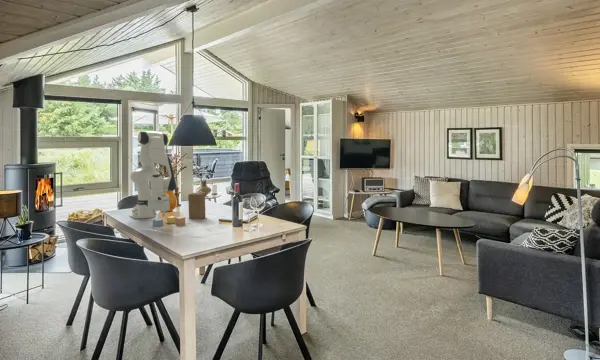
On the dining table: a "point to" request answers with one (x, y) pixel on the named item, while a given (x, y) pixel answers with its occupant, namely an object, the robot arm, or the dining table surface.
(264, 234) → the dining table surface
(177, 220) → the brick terracotta
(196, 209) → the block
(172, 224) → the build plate
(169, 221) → the brick mustard
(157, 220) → the brick slate
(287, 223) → the dining table surface
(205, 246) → the dining table surface
